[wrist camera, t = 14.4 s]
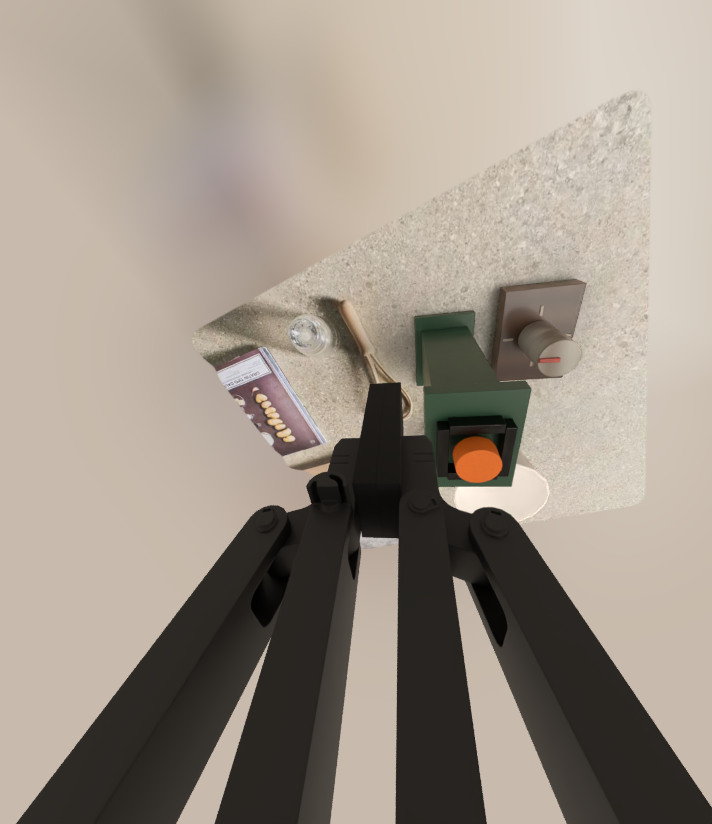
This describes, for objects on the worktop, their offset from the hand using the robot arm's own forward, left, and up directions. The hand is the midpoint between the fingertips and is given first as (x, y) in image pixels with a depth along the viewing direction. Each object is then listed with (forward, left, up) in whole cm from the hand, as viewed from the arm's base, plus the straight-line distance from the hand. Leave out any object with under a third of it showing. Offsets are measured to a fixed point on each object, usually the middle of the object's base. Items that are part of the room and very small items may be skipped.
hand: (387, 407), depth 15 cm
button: (+12, +7, -10) cm, 17 cm away
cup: (+30, +14, -37) cm, 49 cm away
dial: (+10, +20, -33) cm, 40 cm away
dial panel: (+10, +20, -36) cm, 43 cm away
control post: (+12, +7, -36) cm, 39 cm away
